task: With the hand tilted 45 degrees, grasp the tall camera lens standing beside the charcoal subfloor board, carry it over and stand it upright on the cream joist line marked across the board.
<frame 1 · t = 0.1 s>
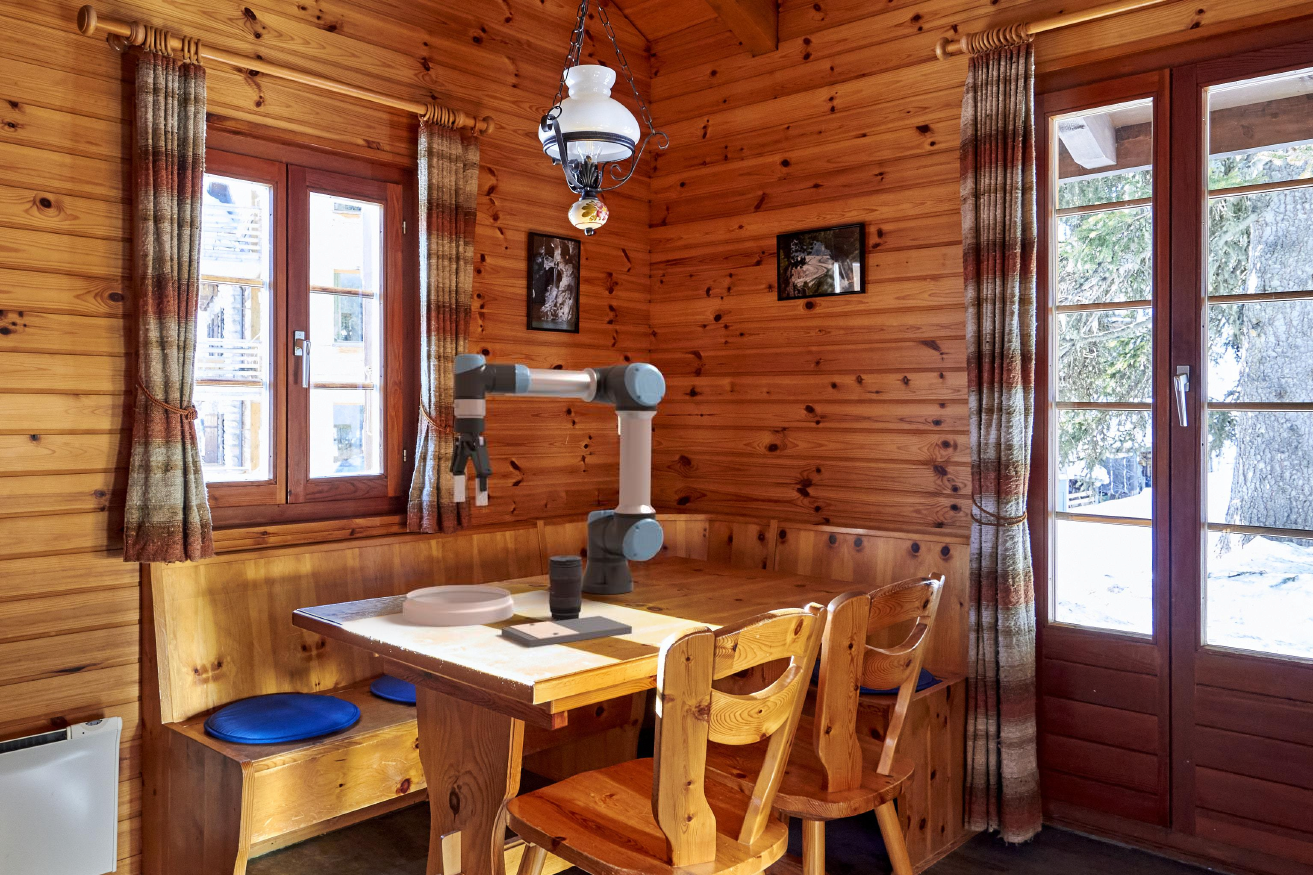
hand: (470, 503, 229), 28 cm above the table, fingers open, 13 cm apart
subfloor board: (567, 633, 212), on the table
camera lens: (564, 619, 229), on the table
white round tray: (458, 616, 232), on the table
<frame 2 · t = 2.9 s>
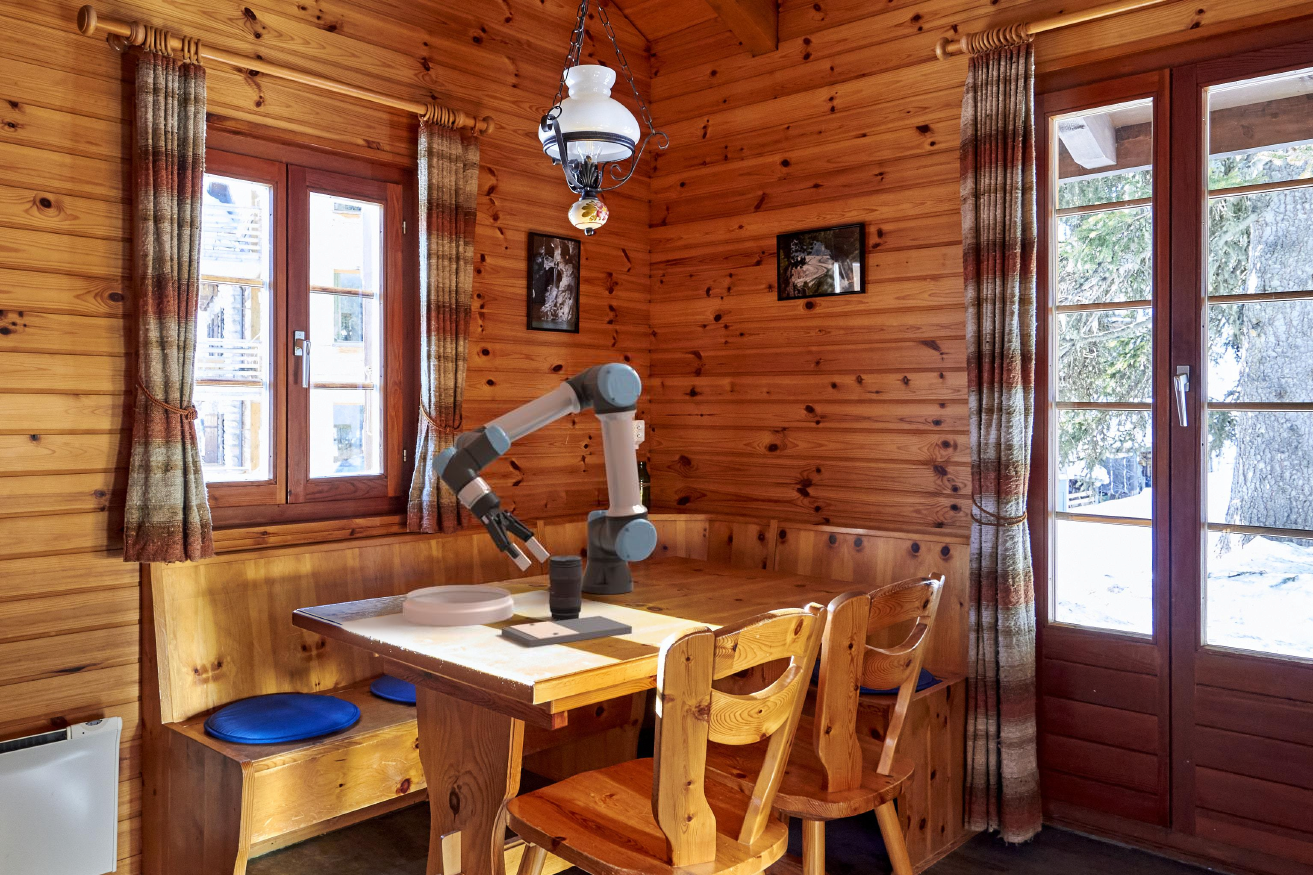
hand: (536, 563, 229), 13 cm above the table, fingers open, 13 cm apart
nothing on the table moved.
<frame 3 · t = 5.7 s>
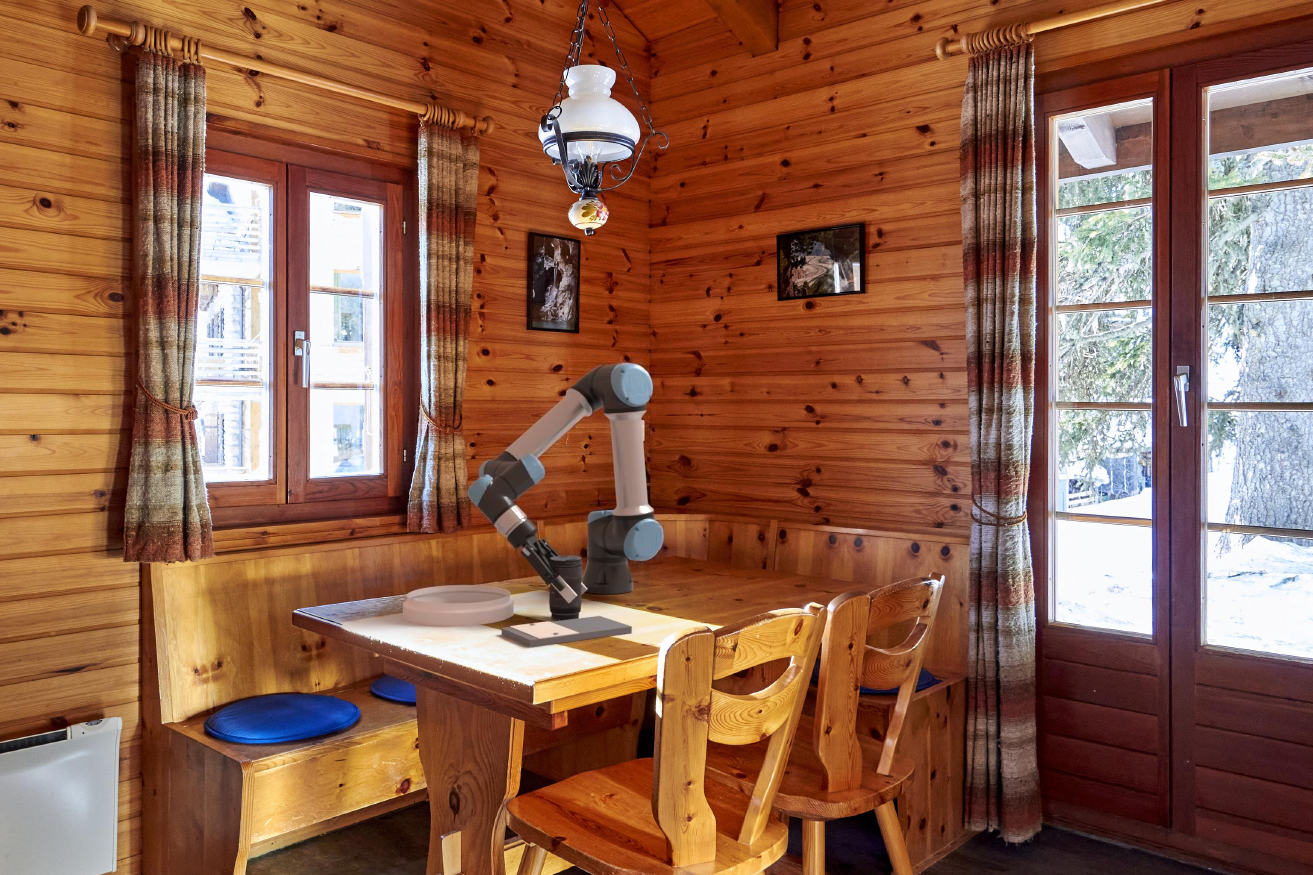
hand: (578, 595, 228), 6 cm above the table, fingers closed on camera lens, 8 cm apart
camera lens: (564, 619, 229), on the table, touching gripper
everything else where it was.
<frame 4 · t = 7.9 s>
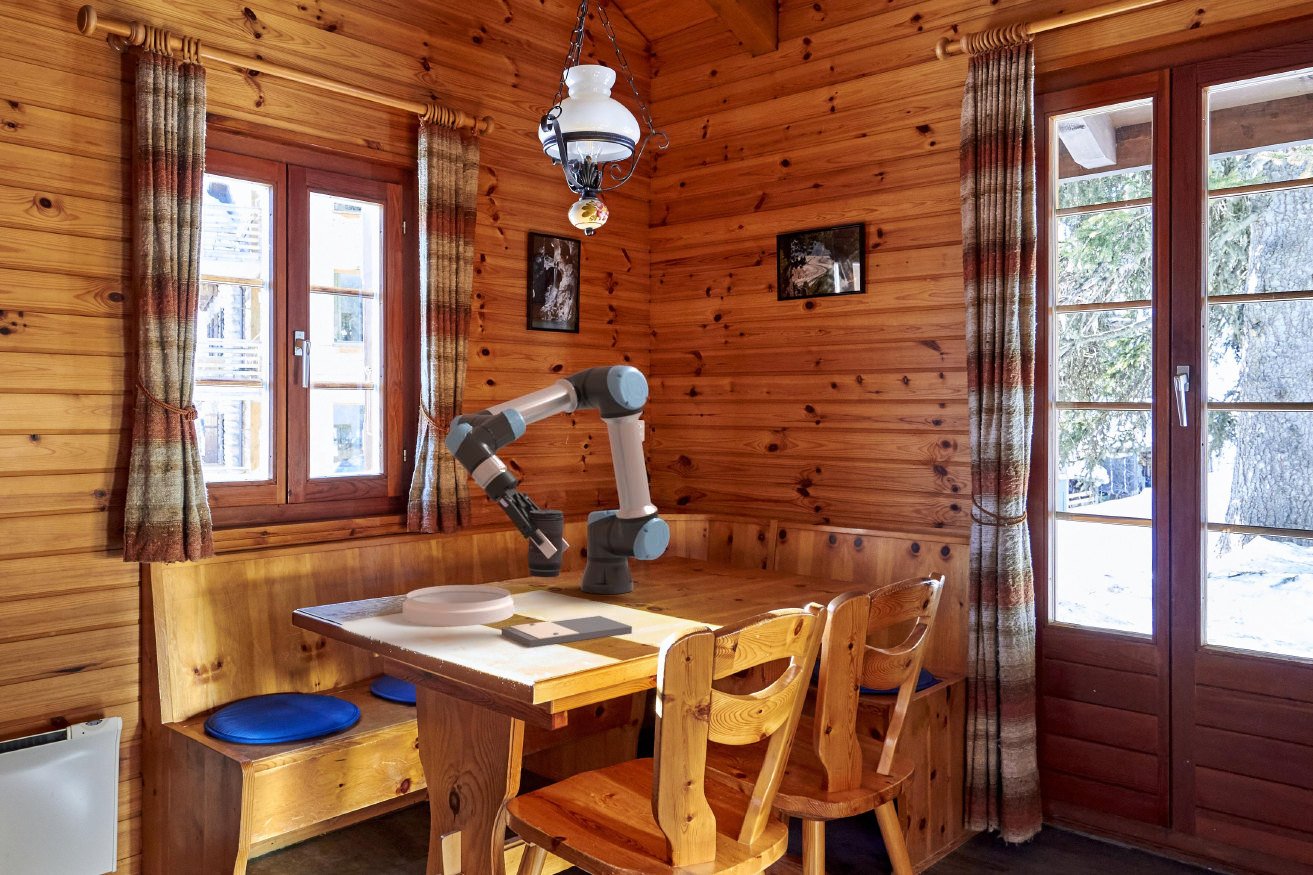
hand: (558, 552, 215), 18 cm above the table, fingers closed on camera lens, 8 cm apart
camera lens: (544, 576, 216), point 12 cm above the table, touching gripper
everything else where it was.
when the fingers open (9 cm above the table, at t = 10.4 s): camera lens drops 1 cm, resting on subfloor board.
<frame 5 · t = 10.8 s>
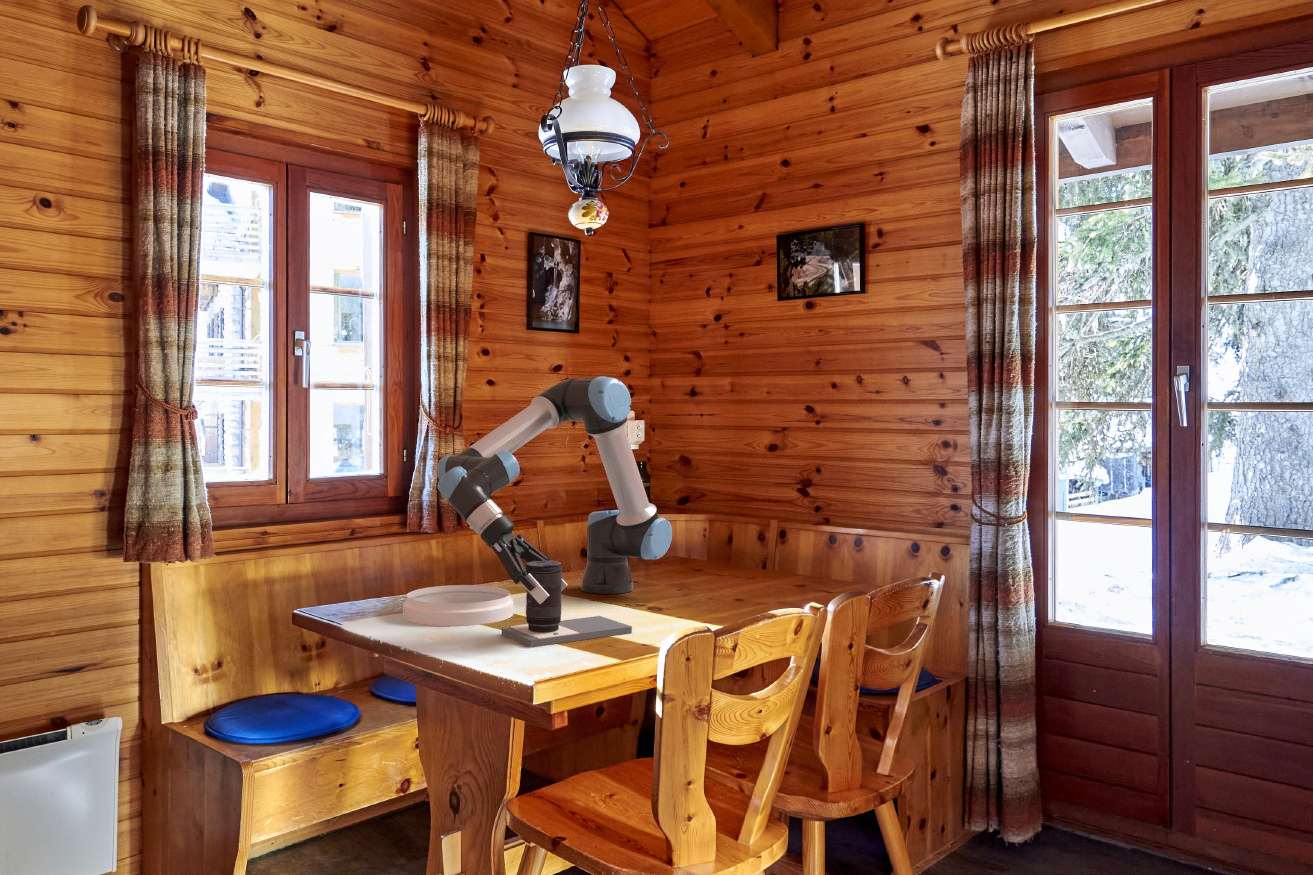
hand: (554, 594, 208), 10 cm above the table, fingers open, 13 cm apart
camera lens: (543, 630, 208), point 2 cm above the table, touching subfloor board
everything else where it was.
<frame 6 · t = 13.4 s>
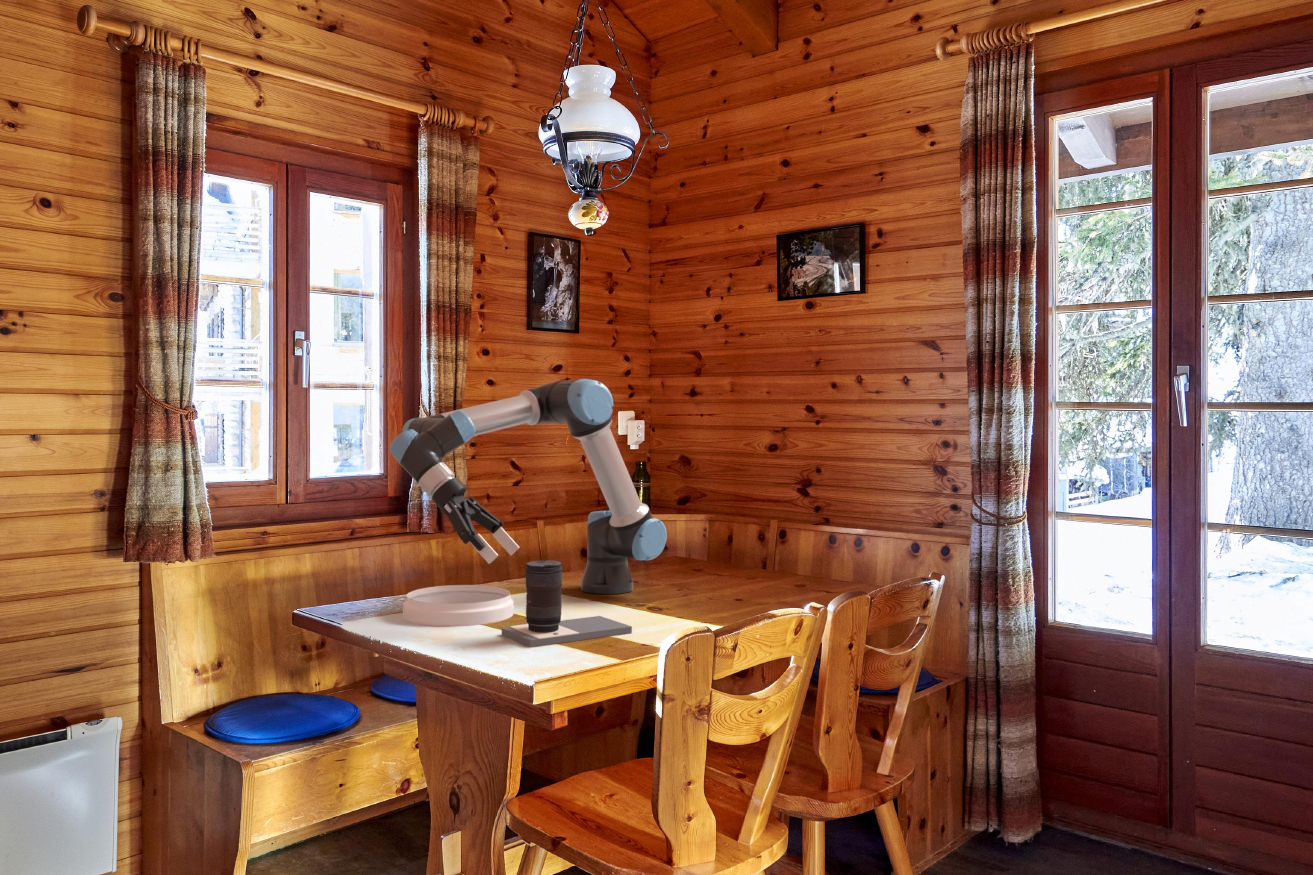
hand: (505, 555, 210), 18 cm above the table, fingers open, 13 cm apart
nothing on the table moved.
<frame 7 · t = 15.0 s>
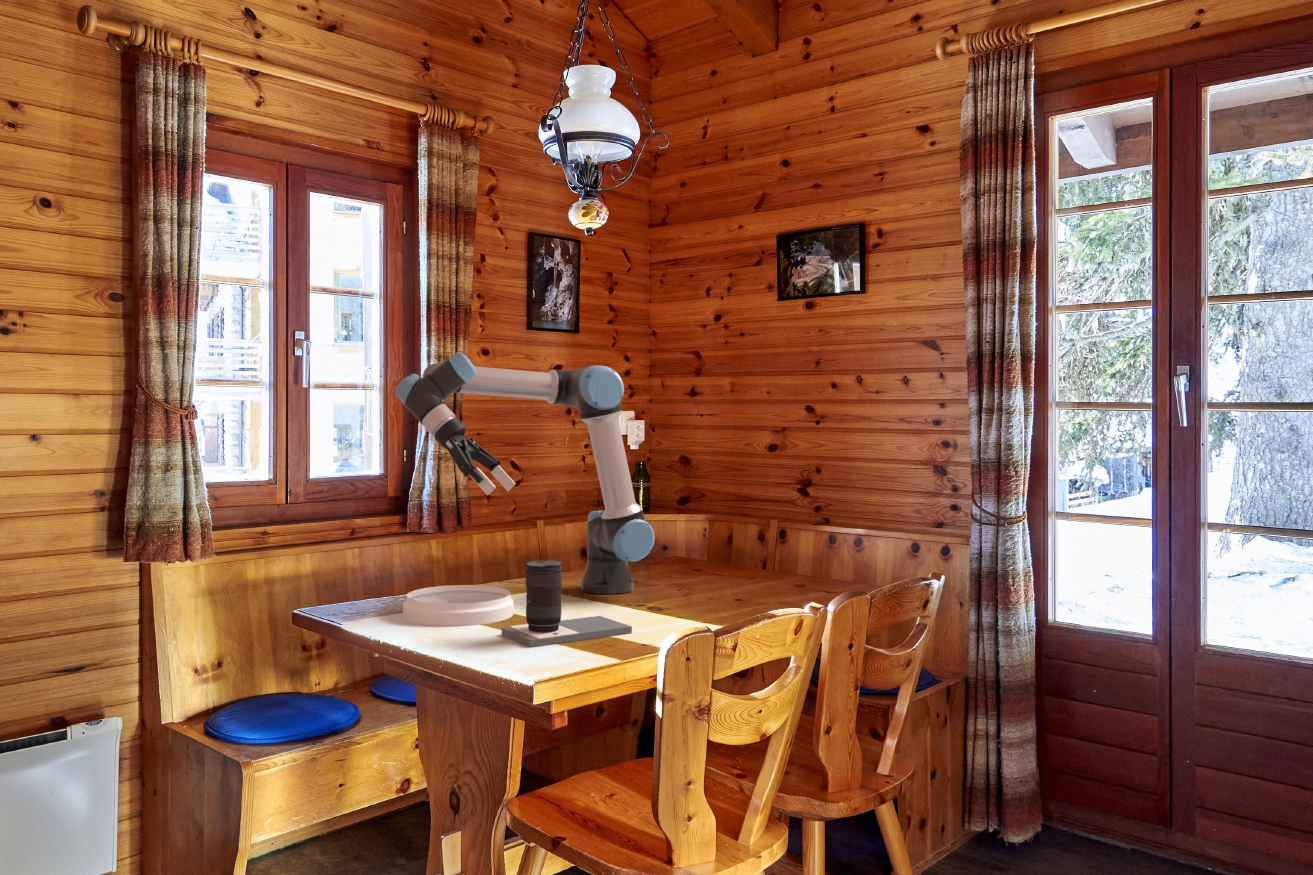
hand: (502, 489, 227), 32 cm above the table, fingers open, 13 cm apart
nothing on the table moved.
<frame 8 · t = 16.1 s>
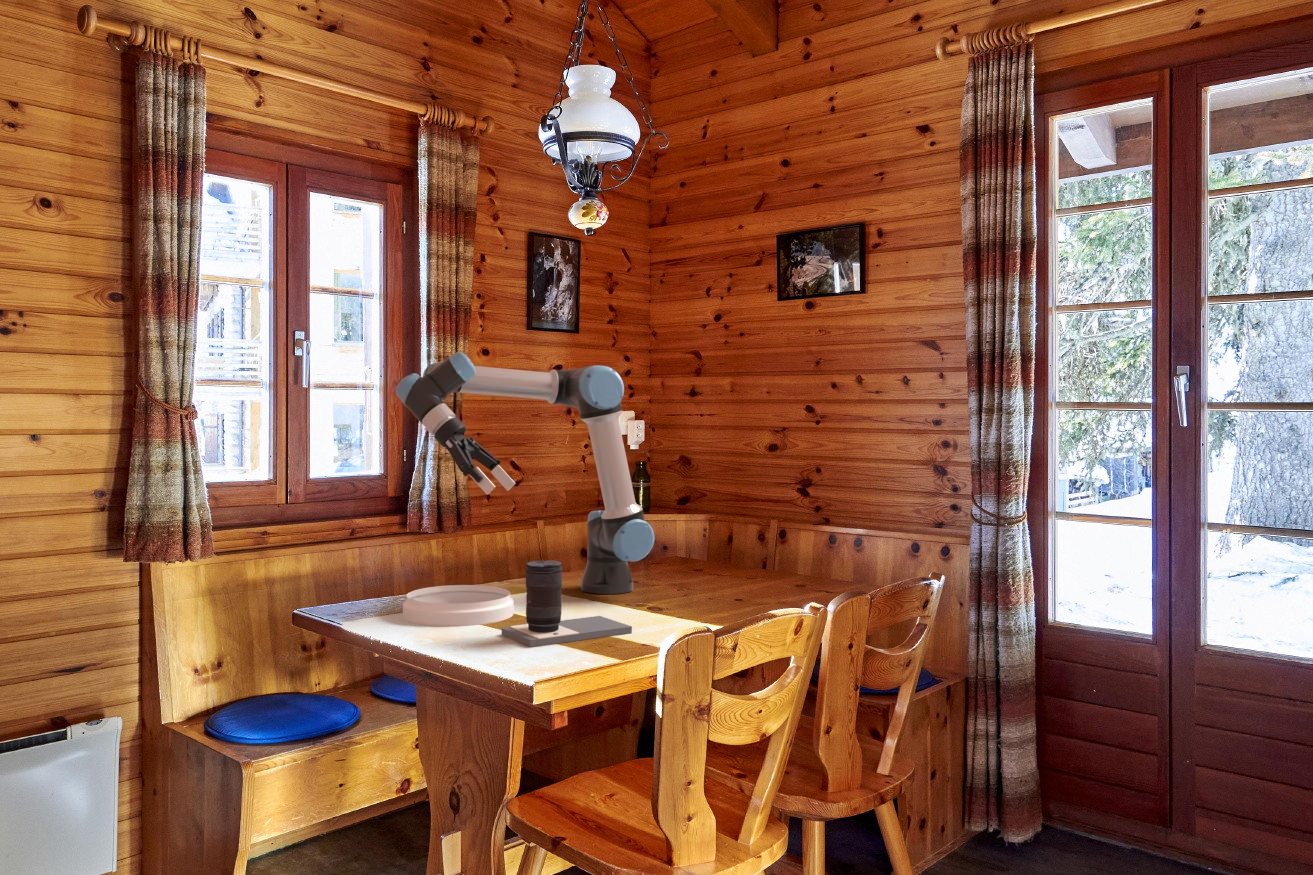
hand: (501, 488, 227), 32 cm above the table, fingers open, 13 cm apart
nothing on the table moved.
at the end: camera lens inside the target area on the subfloor board (0.4 cm from its centre), point 1.5 cm above the subfloor board's base; camera lens tilted 0°; the gripper is holding nothing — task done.
